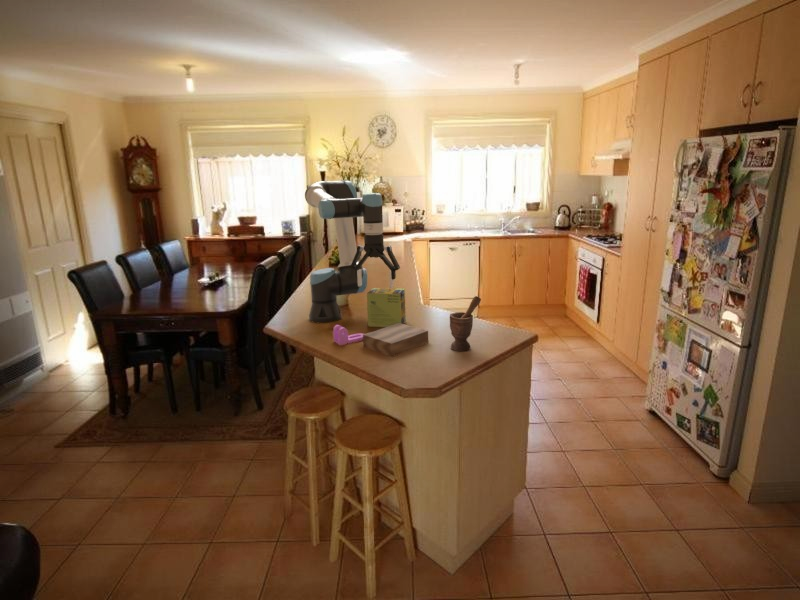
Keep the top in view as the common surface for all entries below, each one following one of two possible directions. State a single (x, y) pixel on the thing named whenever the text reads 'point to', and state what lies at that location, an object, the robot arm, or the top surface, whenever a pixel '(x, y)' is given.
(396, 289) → the protein box
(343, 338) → the bracket
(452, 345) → the mortar and pestle
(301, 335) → the top surface
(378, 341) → the walnut block
